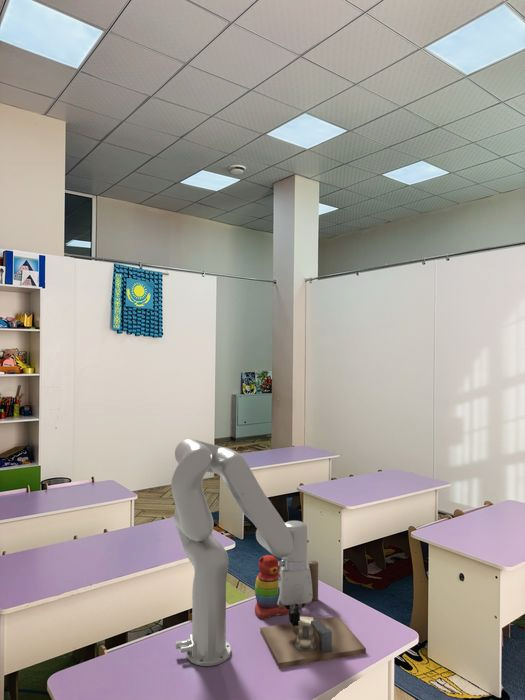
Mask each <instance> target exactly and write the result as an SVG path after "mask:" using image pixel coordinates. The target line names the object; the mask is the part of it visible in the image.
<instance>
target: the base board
mask: <svg viewBox="0 0 525 700" xmlns="http://www.w3.org/2000/svg"><path fill="white" fill-rule="evenodd" d="M315 620H321V621H322V622H323V624H324V625H325V626H326V628H327V629H328V628H329V629H330V630H331V631H332V652H328V653H321V651H320V650H319V636H318V634H317V633H316V632H315V630H314V629H313V635H314V646H313V648H307V649H306V648H301V647H298V645H297V634H298V633H299V624H300V621H298V626H293V625H292V624H291V622H288V623H282V624H276V625H270V626H262V627H259V629H260V630H259V632H260V636H262V638H263V640H264V643H265V644H266V647H267V649H268V650H269V653H270V654H271V656H272V659H273V660H274V662H275V664H276V666H277V668H278V669H279V670H281V669H286V668H291V667H296V666H303V665H309V664H314V663H320V662H324V661H325V662H326V661H332V660H337V659H342V658H349V657H355V656H360V654H361V655H365V654H367V648H366V647H365V645H364V644H363V643H362V642H361V641H360V639H359V638H358V637H357V636H356V635H355V634H354V632H353V631H352V630H351V629H350V628H349V627H348V626H347V624H346V623H345V622H344V621H343V619H342V618H341V617H340V616H338V615H336V616H335V615H334V616H330V617H324V618H323V617H322V618H316V619H313V621H315Z"/></svg>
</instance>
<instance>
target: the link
mask: <svg viewBox="0 0 525 700" xmlns="http://www.w3.org/2000/svg"><path fill="white" fill-rule="evenodd" d="M313 620H314V617H313V616H301V615H300V621H299V622H300V624H299V633H298V634H297V645H298V647H301V648H306V649H307V648H313V646H314V635H313V627H312V626H311V621H313Z"/></svg>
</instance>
